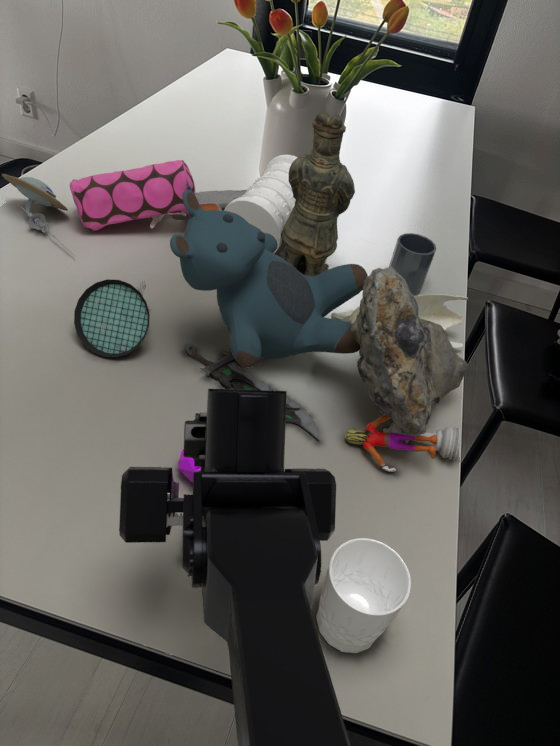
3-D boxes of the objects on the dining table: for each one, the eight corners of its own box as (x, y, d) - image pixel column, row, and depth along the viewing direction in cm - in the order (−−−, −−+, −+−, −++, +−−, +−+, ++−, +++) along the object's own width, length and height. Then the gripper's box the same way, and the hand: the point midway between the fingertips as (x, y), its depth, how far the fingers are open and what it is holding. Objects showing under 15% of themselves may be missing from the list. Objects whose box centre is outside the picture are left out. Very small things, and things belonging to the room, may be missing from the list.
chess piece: (458, 454, 80) (382, 438, 82) (452, 465, 84) (379, 450, 85) (462, 423, 82) (387, 409, 83) (456, 435, 86) (384, 421, 87)
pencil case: (186, 154, 104) (198, 214, 107) (190, 160, 114) (201, 215, 116) (61, 176, 104) (76, 236, 106) (76, 181, 113) (90, 236, 116)
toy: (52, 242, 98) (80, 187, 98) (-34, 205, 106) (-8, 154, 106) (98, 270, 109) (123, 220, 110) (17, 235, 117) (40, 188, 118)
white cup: (378, 670, 62) (406, 626, 55) (303, 645, 62) (321, 598, 56) (388, 599, 67) (415, 552, 61) (319, 577, 68) (338, 527, 61)
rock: (334, 365, 67) (478, 356, 63) (343, 242, 80) (464, 228, 76) (364, 479, 86) (476, 477, 82) (368, 365, 99) (465, 359, 95)
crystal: (171, 475, 75) (172, 451, 72) (201, 450, 79) (203, 426, 76) (204, 499, 73) (206, 475, 70) (232, 472, 77) (236, 448, 74)
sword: (337, 425, 85) (308, 451, 81) (207, 337, 95) (175, 355, 90) (338, 422, 85) (309, 448, 80) (207, 333, 94) (175, 352, 90)
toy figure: (351, 410, 86) (349, 403, 83) (439, 422, 82) (440, 414, 80) (341, 466, 82) (338, 460, 80) (432, 480, 79) (433, 474, 77)
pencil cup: (422, 299, 111) (438, 257, 105) (385, 293, 110) (399, 250, 104) (418, 278, 116) (433, 236, 110) (383, 272, 115) (396, 230, 109)
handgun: (318, 220, 120) (284, 182, 129) (189, 233, 109) (162, 191, 118) (314, 236, 122) (281, 199, 131) (188, 251, 111) (162, 208, 120)
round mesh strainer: (82, 266, 88) (99, 272, 94) (67, 348, 88) (84, 349, 94) (157, 281, 87) (169, 286, 93) (141, 364, 87) (154, 364, 94)
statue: (340, 274, 113) (382, 108, 92) (323, 300, 106) (364, 127, 86) (284, 254, 115) (313, 88, 94) (264, 278, 108) (290, 105, 88)
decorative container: (276, 267, 111) (313, 216, 122) (285, 214, 102) (323, 164, 113) (219, 244, 113) (260, 196, 124) (223, 190, 104) (267, 144, 115)
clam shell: (475, 285, 97) (468, 356, 100) (436, 274, 107) (430, 339, 111) (345, 292, 90) (343, 368, 94) (317, 280, 101) (316, 348, 105)
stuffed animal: (369, 383, 83) (253, 257, 63) (257, 405, 92) (126, 300, 72) (374, 252, 95) (278, 110, 75) (275, 283, 104) (166, 164, 84)
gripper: (358, 419, 49) (314, 411, 64) (117, 413, 46) (131, 407, 61) (354, 560, 49) (311, 518, 64) (111, 564, 45) (127, 519, 61)
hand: (222, 488), depth 63 cm, fingers open, 9 cm apart
